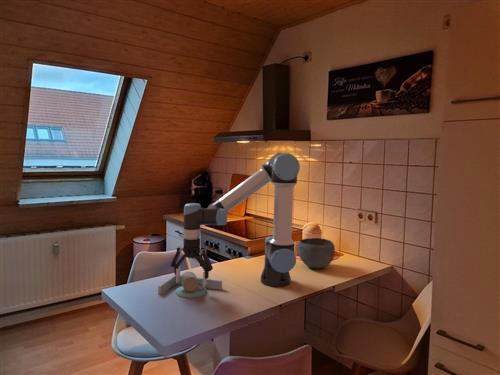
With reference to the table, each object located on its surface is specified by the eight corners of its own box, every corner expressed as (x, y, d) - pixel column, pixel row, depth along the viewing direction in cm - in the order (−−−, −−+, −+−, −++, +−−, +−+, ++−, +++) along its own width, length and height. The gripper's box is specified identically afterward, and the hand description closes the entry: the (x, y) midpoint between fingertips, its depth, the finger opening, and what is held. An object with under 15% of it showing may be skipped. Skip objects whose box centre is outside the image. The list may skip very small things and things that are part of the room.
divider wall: (222, 288, 179) (222, 280, 178) (221, 289, 177) (221, 281, 177) (175, 282, 185) (175, 274, 184) (174, 283, 184) (174, 275, 183)
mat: (210, 288, 178) (210, 287, 178) (199, 299, 165) (199, 298, 165) (183, 285, 182) (183, 283, 182) (170, 295, 169) (170, 293, 168)
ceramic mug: (183, 293, 168) (183, 276, 167) (179, 288, 175) (180, 271, 175) (206, 291, 172) (207, 275, 171) (202, 286, 179) (202, 270, 179)
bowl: (329, 261, 228) (330, 237, 226) (338, 273, 207) (340, 246, 205) (294, 261, 227) (295, 236, 226) (300, 272, 206) (301, 245, 205)
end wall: (175, 283, 184) (175, 275, 183) (160, 294, 169) (160, 286, 169) (173, 283, 184) (173, 275, 184) (158, 294, 169) (158, 285, 169)
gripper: (220, 238, 171) (219, 283, 173) (170, 233, 178) (170, 277, 180) (214, 242, 164) (213, 289, 166) (163, 237, 170) (163, 282, 173)
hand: (191, 283), depth 173 cm, fingers open, 12 cm apart
